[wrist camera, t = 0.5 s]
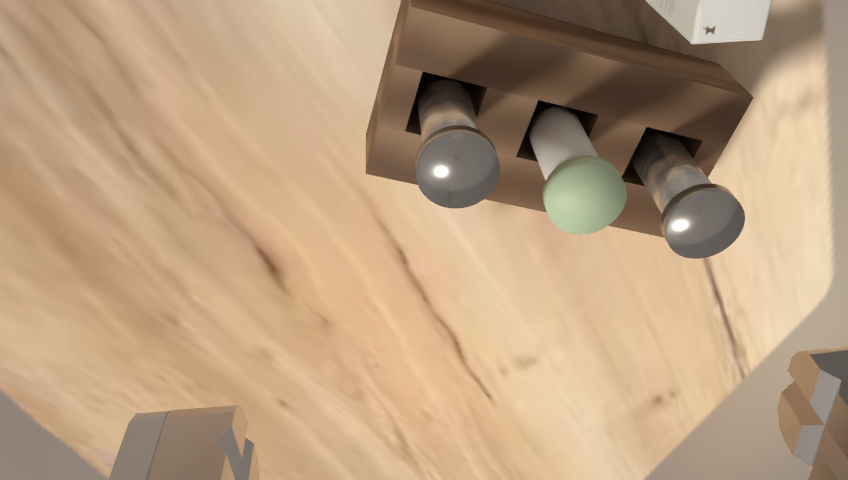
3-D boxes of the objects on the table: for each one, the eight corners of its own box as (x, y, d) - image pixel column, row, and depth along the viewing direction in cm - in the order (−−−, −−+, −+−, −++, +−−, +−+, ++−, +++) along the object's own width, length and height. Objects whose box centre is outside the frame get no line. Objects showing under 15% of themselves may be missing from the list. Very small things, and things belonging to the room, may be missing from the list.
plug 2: (641, 118, 51) (689, 186, 43) (702, 133, 52) (759, 202, 44) (613, 176, 53) (653, 250, 46) (671, 190, 54) (720, 264, 47)
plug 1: (419, 63, 48) (429, 126, 40) (489, 80, 49) (511, 145, 41) (400, 128, 50) (406, 199, 43) (467, 143, 51) (484, 215, 44)
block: (407, -21, 50) (411, 6, 45) (718, 64, 54) (753, 97, 50) (366, 134, 56) (365, 173, 51) (648, 197, 61) (672, 239, 56)
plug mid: (534, 91, 49) (564, 157, 42) (599, 107, 50) (640, 175, 43) (510, 153, 52) (534, 225, 44) (572, 167, 53) (606, 240, 45)
